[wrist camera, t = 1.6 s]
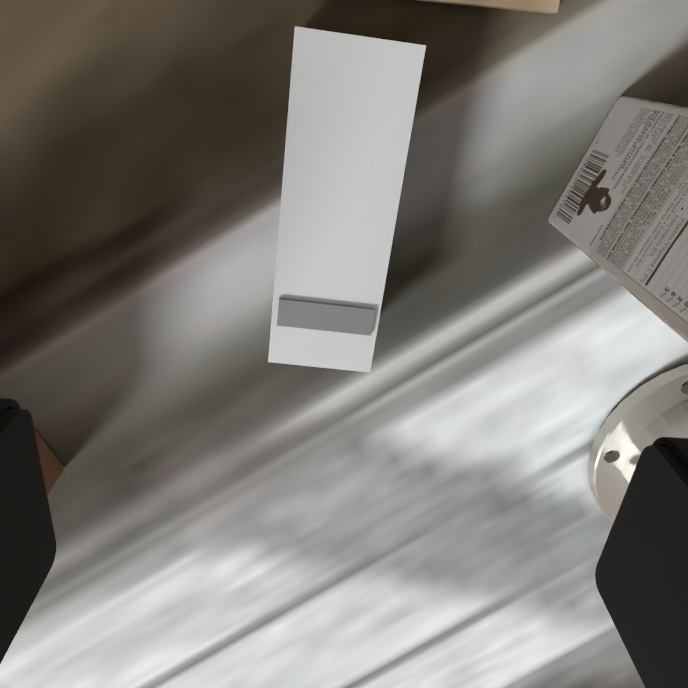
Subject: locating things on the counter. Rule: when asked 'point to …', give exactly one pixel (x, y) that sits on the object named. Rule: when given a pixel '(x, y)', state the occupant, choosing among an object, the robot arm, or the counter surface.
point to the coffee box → (635, 205)
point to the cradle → (509, 4)
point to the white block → (340, 194)
